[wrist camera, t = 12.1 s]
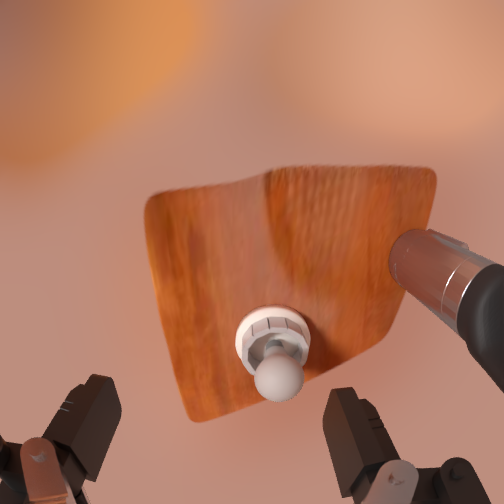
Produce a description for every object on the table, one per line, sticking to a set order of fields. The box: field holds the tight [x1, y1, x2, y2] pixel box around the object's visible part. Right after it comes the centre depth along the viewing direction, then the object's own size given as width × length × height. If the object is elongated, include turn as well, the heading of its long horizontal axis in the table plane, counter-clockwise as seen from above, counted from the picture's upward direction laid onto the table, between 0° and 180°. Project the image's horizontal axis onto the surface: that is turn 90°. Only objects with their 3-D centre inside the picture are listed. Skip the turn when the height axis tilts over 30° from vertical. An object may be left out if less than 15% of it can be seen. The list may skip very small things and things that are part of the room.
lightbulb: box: [255, 340, 304, 402], centre depth 35 cm, size 6×6×11 cm
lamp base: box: [236, 304, 311, 376], centre depth 40 cm, size 11×11×5 cm
